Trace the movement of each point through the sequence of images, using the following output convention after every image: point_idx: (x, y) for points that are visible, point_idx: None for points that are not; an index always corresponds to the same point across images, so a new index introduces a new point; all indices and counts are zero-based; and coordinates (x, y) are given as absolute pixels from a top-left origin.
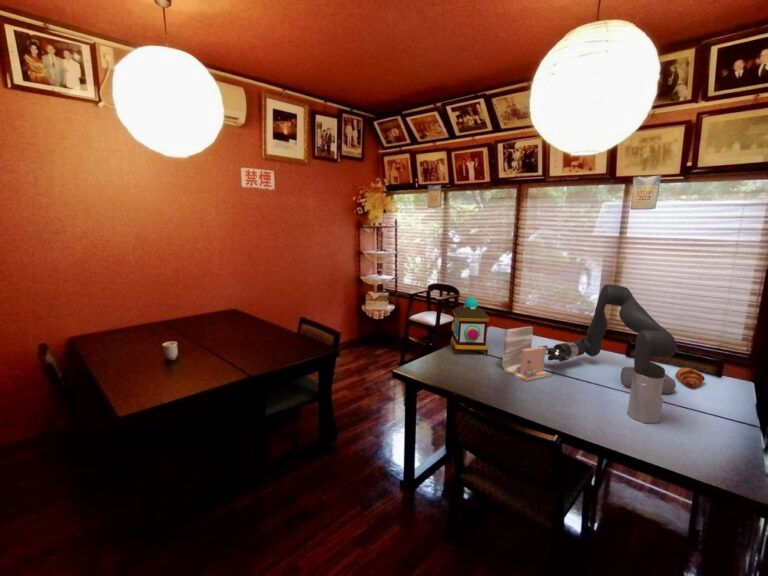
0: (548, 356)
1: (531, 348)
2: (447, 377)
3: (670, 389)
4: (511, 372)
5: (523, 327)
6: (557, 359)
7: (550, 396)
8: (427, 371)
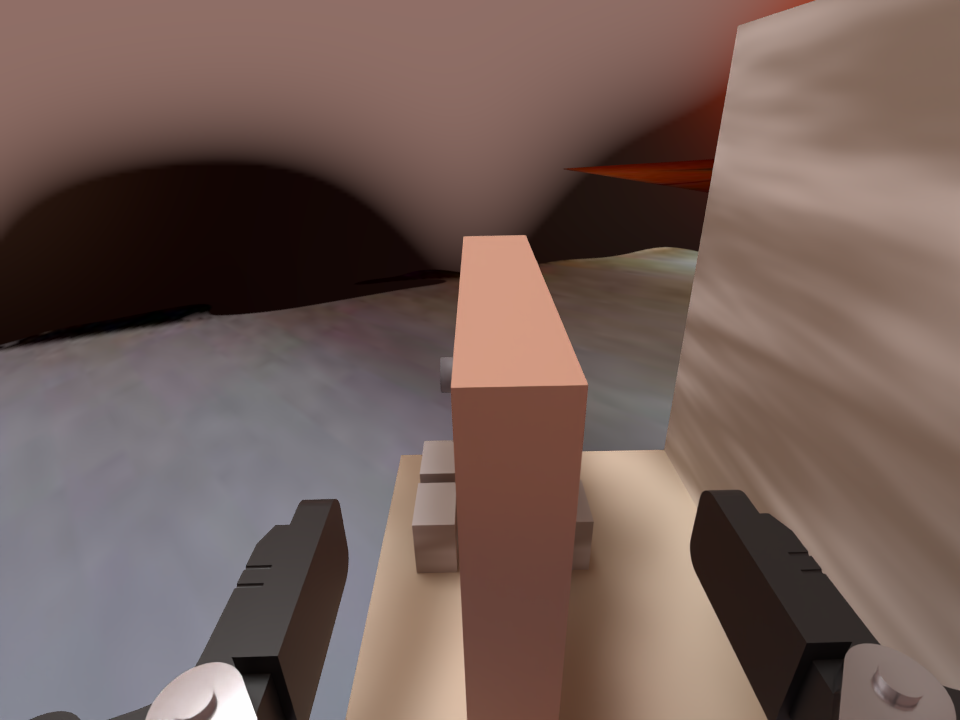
0: (330, 501)
1: (520, 272)
2: (598, 289)
3: None
4: None
5: None
6: None
7: (145, 468)
8: (667, 273)
